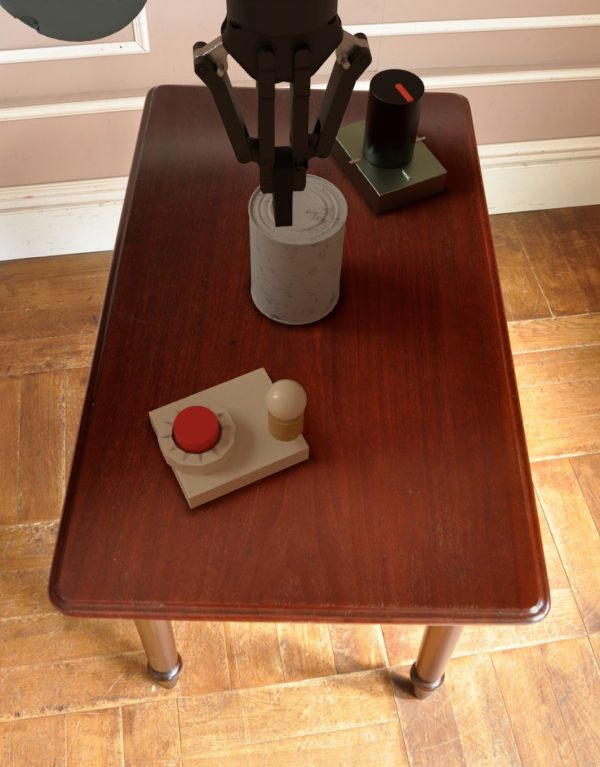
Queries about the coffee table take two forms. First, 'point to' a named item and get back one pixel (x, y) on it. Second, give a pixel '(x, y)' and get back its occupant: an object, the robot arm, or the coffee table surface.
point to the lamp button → (196, 429)
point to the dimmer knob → (392, 117)
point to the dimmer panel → (387, 171)
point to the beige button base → (227, 440)
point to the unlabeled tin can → (298, 253)
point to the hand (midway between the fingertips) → (282, 215)
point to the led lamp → (285, 409)
